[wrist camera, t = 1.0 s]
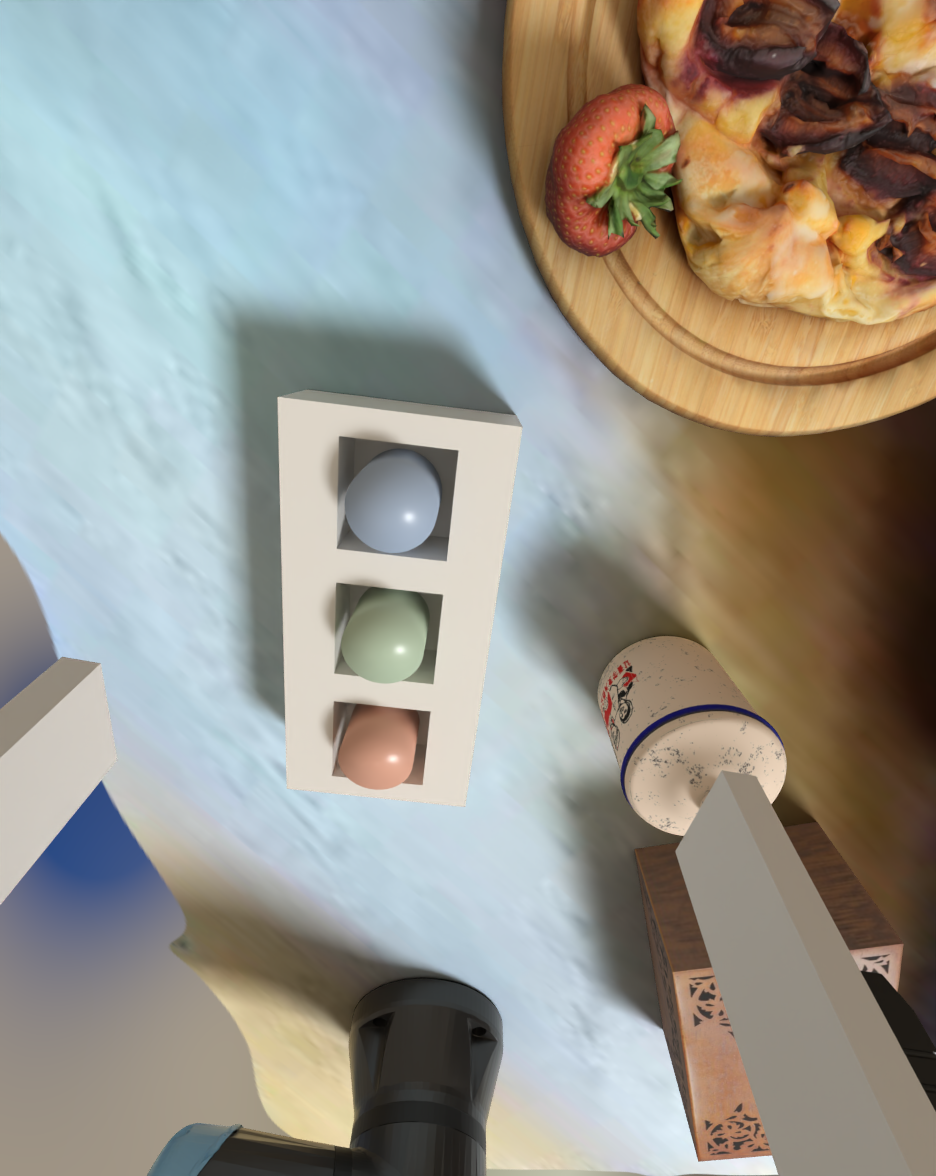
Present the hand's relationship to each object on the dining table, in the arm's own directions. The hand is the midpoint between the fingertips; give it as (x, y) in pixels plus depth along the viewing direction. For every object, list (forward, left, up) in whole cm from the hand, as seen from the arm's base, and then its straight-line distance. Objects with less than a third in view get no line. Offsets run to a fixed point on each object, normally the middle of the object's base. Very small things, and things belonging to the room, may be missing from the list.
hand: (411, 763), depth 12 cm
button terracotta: (-15, +3, -21) cm, 26 cm away
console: (-7, +3, -24) cm, 25 cm away
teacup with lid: (-13, -16, -24) cm, 32 cm away
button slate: (+1, +3, -21) cm, 21 cm away
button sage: (-7, +3, -21) cm, 23 cm away
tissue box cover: (-37, -29, -24) cm, 53 cm away
